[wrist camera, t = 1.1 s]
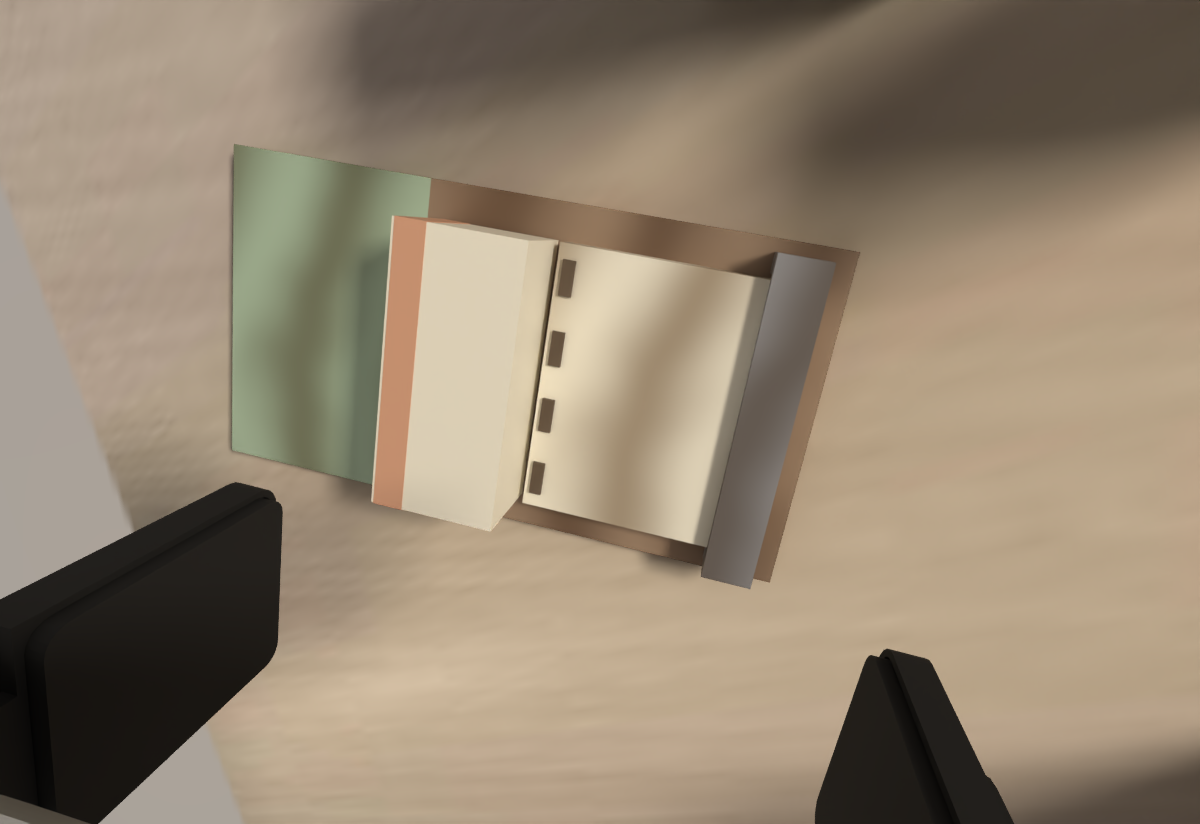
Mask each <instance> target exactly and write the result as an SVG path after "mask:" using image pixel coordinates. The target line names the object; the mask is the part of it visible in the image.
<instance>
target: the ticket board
mask: <svg viewBox="0 0 1200 824" xmlns="http://www.w3.org/2000/svg"><path fill="white" fill-rule="evenodd" d="M392 216H409V217H424V218H438V219H447V220H452V221H458V222H463V223H469V224H471V225H477V226H482V227H488V228H493V229H499V230H504V231H510V232H515V233H521V234H526V235H532V236H537V237H543V238H548V239H554V240H559V241H558V248H557V254H556V261H555V268H554V275H553V282H552V289H551V296H550V303H549V310H548V317H547V324H546V331H545V338H544V345H543V352H542V358H541V365H540V372H539V379H538V386H537V393H536V400H535V407H534V414H533V421H532V428H531V435H530V442H529V449H528V456H527V463H526V469H525V476H524V483H523V490H522V494H521V495H520V496H519V498H518V499H517V500H516V501H515V502H514V504H513V505H512V506H511V507H510V509H509V510H508V511H507V512H506V513H505V515H504V516H503V517H506V518H510V519H514V520H518V521H522V522H526V523H530V524H534V525H538V526H542V527H546V528H550V529H554V530H558V531H562V532H567V533H571V534H575V535H579V536H583V537H587V538H591V539H595V540H599V541H603V542H607V543H611V544H615V545H619V546H623V547H627V548H631V549H636V550H640V551H644V552H648V553H652V554H656V555H660V556H664V557H668V558H672V559H676V560H680V561H684V562H688V563H692V564H696V565H700V566H702V571H701V577H704V578H708V579H712V580H716V581H720V582H724V583H728V584H732V585H736V586H740V587H744V588H748V589H750V588H751V584H752V580H753V579H757V580H761V581H765V582H769V583H770V579H771V576H772V572H773V568H774V565H775V561H776V557H777V554H778V550H779V547H780V543H781V539H782V536H783V532H784V528H785V525H786V521H787V517H788V514H789V510H790V506H791V503H792V499H793V495H794V492H795V488H796V484H797V481H798V477H799V473H800V470H801V466H802V462H803V459H804V455H805V451H806V448H807V444H808V440H809V437H810V433H811V430H812V426H813V422H814V419H815V415H816V411H817V408H818V404H819V400H820V397H821V393H822V389H823V386H824V382H825V378H826V375H827V371H828V367H829V364H830V360H831V356H832V353H833V349H834V345H835V342H836V338H837V334H838V331H839V327H840V323H841V320H842V316H843V312H844V309H845V305H846V302H847V298H848V294H849V291H850V287H851V283H852V280H853V276H854V272H855V269H856V265H857V261H858V258H859V254H860V252H856V251H850V250H844V249H838V248H833V247H827V246H821V245H815V244H810V243H804V242H798V241H792V240H786V239H781V238H775V237H769V236H763V235H757V234H752V233H746V232H740V231H734V230H728V229H723V228H717V227H711V226H705V225H700V224H694V223H688V222H682V221H676V220H671V219H665V218H659V217H653V216H647V215H642V214H636V213H630V212H624V211H618V210H613V209H607V208H601V207H595V206H589V205H584V204H578V203H572V202H566V201H561V200H555V199H549V198H543V197H537V196H532V195H526V194H520V193H514V192H508V191H503V190H497V189H491V188H485V187H479V186H474V185H468V184H462V183H456V182H451V181H445V180H439V179H433V178H427V177H422V176H416V175H410V174H404V173H398V172H393V171H387V170H381V169H375V168H369V167H364V166H358V165H352V164H346V163H340V162H335V161H329V160H323V159H317V158H312V157H306V156H300V155H294V154H288V153H283V152H277V151H271V150H265V149H259V148H254V147H248V146H242V145H236V144H234V189H233V352H232V450H234V451H238V452H242V453H246V454H250V455H254V456H258V457H262V458H266V459H270V460H274V461H278V462H282V463H287V464H291V465H295V466H299V467H303V468H307V469H311V470H315V471H319V472H323V473H327V474H331V475H335V476H339V477H343V478H347V479H351V480H356V481H360V482H364V483H368V484H372V483H373V469H374V455H375V442H376V428H377V414H378V400H379V387H380V373H381V359H382V345H383V332H384V318H385V304H386V290H387V277H388V263H389V249H390V235H391V222H392Z"/></svg>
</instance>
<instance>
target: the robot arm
mask: <svg viewBox="0 0 1200 824" xmlns="http://www.w3.org/2000/svg"><path fill="white" fill-rule="evenodd" d="M282 515H283V512H282V506H281V504H280V503H279V502H276V498H275V496H274V494H273V493H272V492H271V491H269V490H266V489H262V488H258V487H254V486H250V485H246V484H242V483H237V482H235V483H232V484H229V485H227V486H225V487H223V488H221V489H219V490H217V491H215V492H213V493H211V494H209V495H207V496H205V497H203V498H201V499H199V500H197V501H195V502H193V503H191V504H189V505H187V506H185V507H183V508H181V509H179V510H177V511H175V512H173V513H171V514H169V515H167V516H165V517H163V518H161V519H159V520H157V521H155V522H153V523H151V524H149V525H147V526H145V527H143V528H141V529H139V530H137V531H135V532H133V533H131V534H129V535H128V536H125V537H123V538H121V539H119V540H117V541H116V542H114V543H112V544H110V545H108V546H106V547H104V548H102V549H100V550H98V551H96V552H94V553H92V554H90V555H88V556H86V557H84V558H82V559H80V560H78V561H76V562H74V563H72V564H70V565H68V566H66V567H64V568H62V569H60V570H58V571H56V572H54V573H52V574H50V575H48V576H46V577H44V578H42V579H40V580H38V581H36V582H34V583H32V584H30V585H28V586H26V587H24V588H22V589H20V590H18V591H16V592H14V593H12V594H10V595H8V596H6V597H5V598H2V599H0V824H98V823H100V822H101V821H102V820H103V819H104V818H105V817H106V816H107V815H108V814H109V813H110V812H111V811H112V810H113V809H114V808H115V807H117V806H118V805H119V804H120V803H121V802H122V801H123V800H124V799H125V798H126V797H127V796H128V795H129V794H130V793H131V792H132V791H134V790H135V789H136V788H137V787H138V786H139V785H140V784H141V783H142V782H143V781H144V780H145V779H146V778H147V777H149V776H150V775H151V774H152V773H153V772H154V771H155V770H156V769H157V768H158V767H159V766H160V765H161V764H162V763H163V762H164V761H165V760H167V759H168V758H169V757H170V756H171V755H172V754H173V753H174V752H175V751H176V750H177V749H178V748H179V747H180V746H182V744H184V743H185V742H186V741H187V740H188V739H189V738H190V737H191V736H192V735H193V734H194V733H195V732H196V731H197V730H199V729H200V728H201V727H202V726H203V725H204V724H205V723H206V722H207V721H208V720H209V719H210V718H211V717H212V716H213V715H215V714H216V713H217V712H218V711H219V710H220V709H221V708H222V707H223V706H224V705H225V704H226V703H227V702H228V701H229V700H231V699H232V698H233V697H234V696H235V695H236V694H237V693H238V692H239V691H240V690H241V689H242V688H243V687H244V686H245V685H246V684H248V683H249V682H250V681H251V680H252V679H253V678H254V677H255V676H256V675H257V674H258V673H259V672H260V671H261V670H262V669H264V668H265V667H266V665H267V664H268V663H269V662H270V660H271V659H272V657H273V655H274V653H275V651H276V647H277V643H278V622H279V595H280V568H281V541H282ZM815 824H1014V822H1013V820H1012V818H1011V816H1010V814H1009V812H1008V810H1007V808H1006V806H1005V804H1004V802H1003V800H1002V798H1001V796H1000V794H999V792H998V790H997V788H996V787H995V785H994V784H993V782H992V781H991V779H990V778H989V777H987V776H986V775H985V773H984V771H983V769H982V767H981V765H980V763H979V761H978V759H977V756H976V754H975V752H974V750H973V748H972V746H971V744H970V742H969V740H968V738H967V736H966V734H965V731H964V729H963V727H962V725H961V723H960V721H959V719H958V717H957V715H956V713H955V711H954V709H953V707H952V704H951V702H950V700H949V698H948V696H947V694H946V692H945V690H944V688H943V686H942V684H941V682H940V680H939V677H938V675H937V673H936V671H935V669H934V667H933V665H932V663H931V662H930V661H929V660H928V659H925V658H921V657H918V656H914V655H910V654H906V653H902V652H898V651H894V650H890V649H886V650H884V651H883V652H882V653H881V654H880V657H877V656H873V655H870V656H869V657H868V658H867V659H866V661H865V664H864V666H863V669H862V672H861V675H860V678H859V681H858V684H857V686H856V689H855V692H854V695H853V698H852V701H851V704H850V707H849V709H848V712H847V715H846V718H845V721H844V724H843V727H842V730H841V732H840V735H839V738H838V741H837V744H836V747H835V750H834V753H833V755H832V758H831V761H830V764H829V767H828V770H827V773H826V776H825V778H824V781H823V784H822V787H821V790H820V793H819V796H818V799H817V804H816V811H815Z"/></svg>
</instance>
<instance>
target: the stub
mask: <svg viewBox="0 0 1200 824" xmlns="http://www.w3.org/2000/svg"><path fill="white" fill-rule="evenodd" d="M558 241H559V240H554V239H548V238H543V237H537V236H532V235H526V234H521V233H515V232H510V231H504V230H499V229H493V228H488V227H482V226H477V225H471V224H469V223H463V222H458V221H452V220H447V219H438V218H424V217H409V216H392V222H391V235H390V249H389V263H388V277H387V290H386V304H385V318H384V332H383V345H382V359H381V373H380V387H379V400H378V414H377V428H376V442H375V455H374V469H373V483H372V497H371V502H373V503H375V504H379V505H383V506H387V507H391V508H395V509H399V510H406V511H410V512H414V513H418V514H422V515H426V516H430V517H434V518H438V519H442V520H446V521H450V522H454V523H458V524H462V525H466V526H470V527H474V528H478V529H482V530H486V531H491V530H492V529H493V528H494V527H495V525H496V524H497V523H498V522H499V521H500V519H501V518H502V517H503V516H504V515H505V513H506V512H507V511H508V510H509V509H510V507H511V506H512V505H513V504H514V502H515V501H516V500H517V499H518V498H519V496H520V495H521V494H522V490H523V483H524V476H525V469H526V463H527V456H528V449H529V442H530V435H531V428H532V421H533V414H534V407H535V400H536V393H537V386H538V379H539V372H540V365H541V358H542V352H543V345H544V338H545V331H546V324H547V317H548V310H549V303H550V296H551V289H552V282H553V275H554V268H555V261H556V254H557V248H558Z"/></svg>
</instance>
